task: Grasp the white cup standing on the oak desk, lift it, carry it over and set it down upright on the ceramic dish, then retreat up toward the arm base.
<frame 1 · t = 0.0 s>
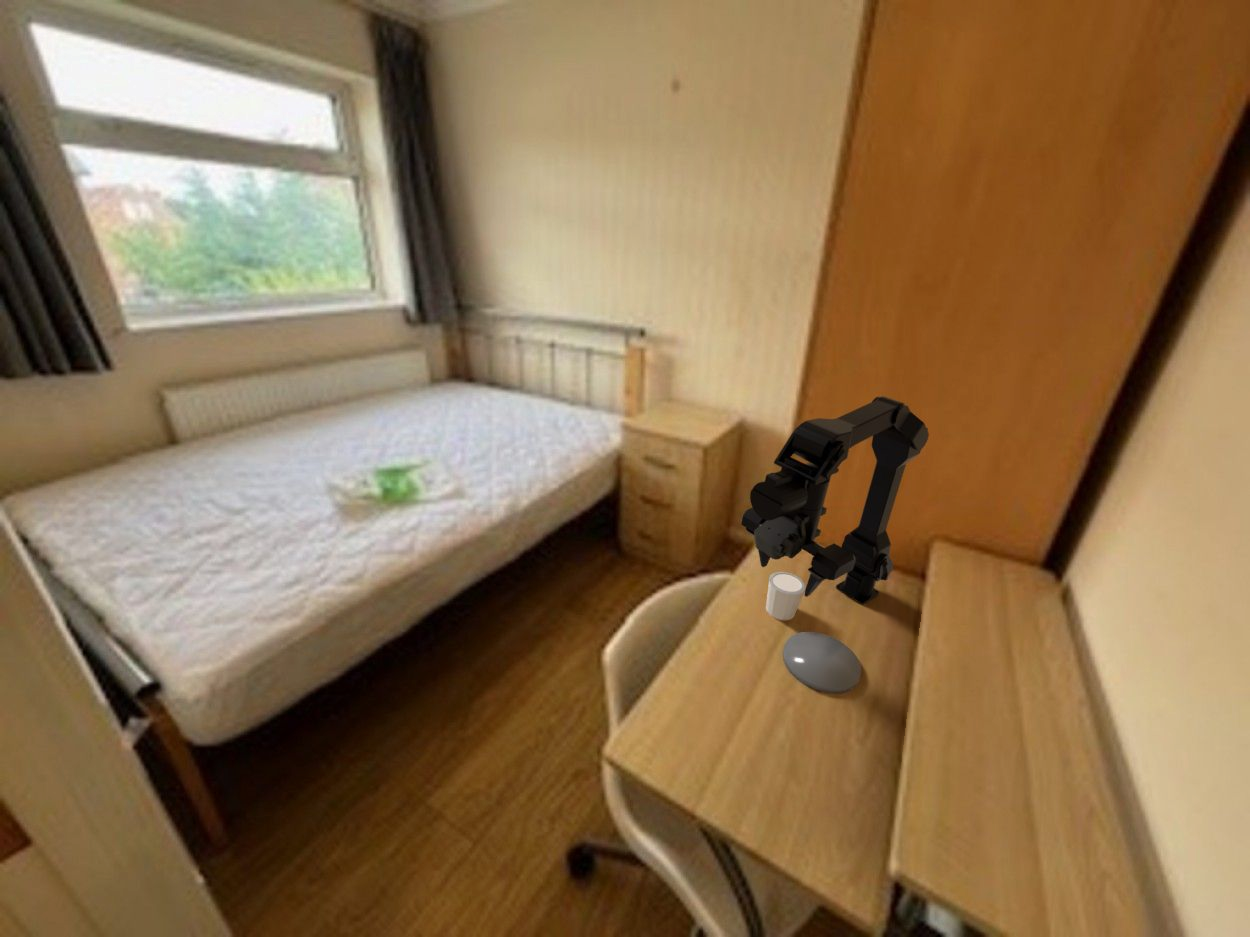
hand: (784, 580, 93), 15 cm above the table, fingers open, 9 cm apart
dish: (820, 663, 96), on the table
white cup: (779, 611, 108), on the table
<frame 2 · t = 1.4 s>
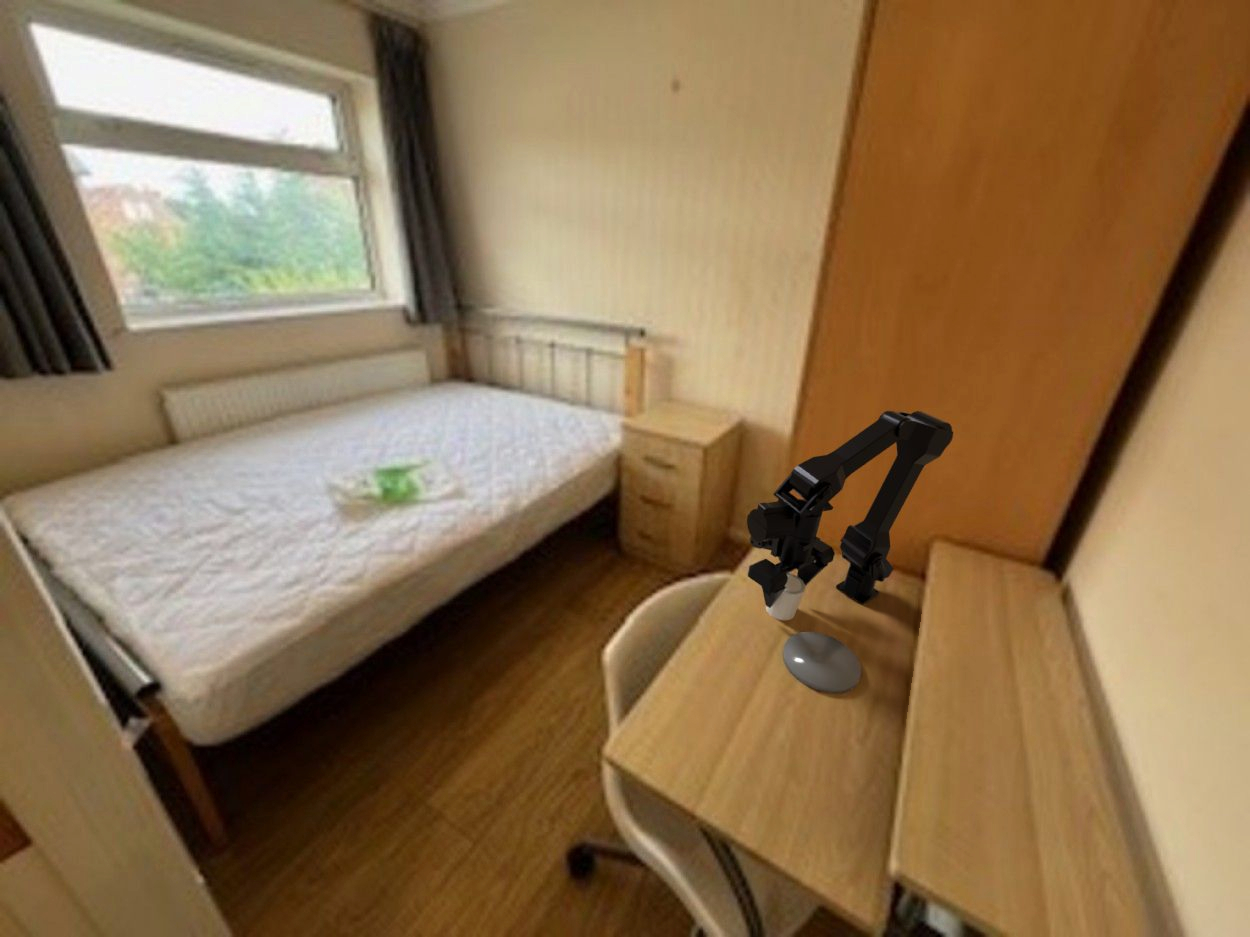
hand: (783, 597, 107), 3 cm above the table, fingers open, 9 cm apart
nothing on the table moved.
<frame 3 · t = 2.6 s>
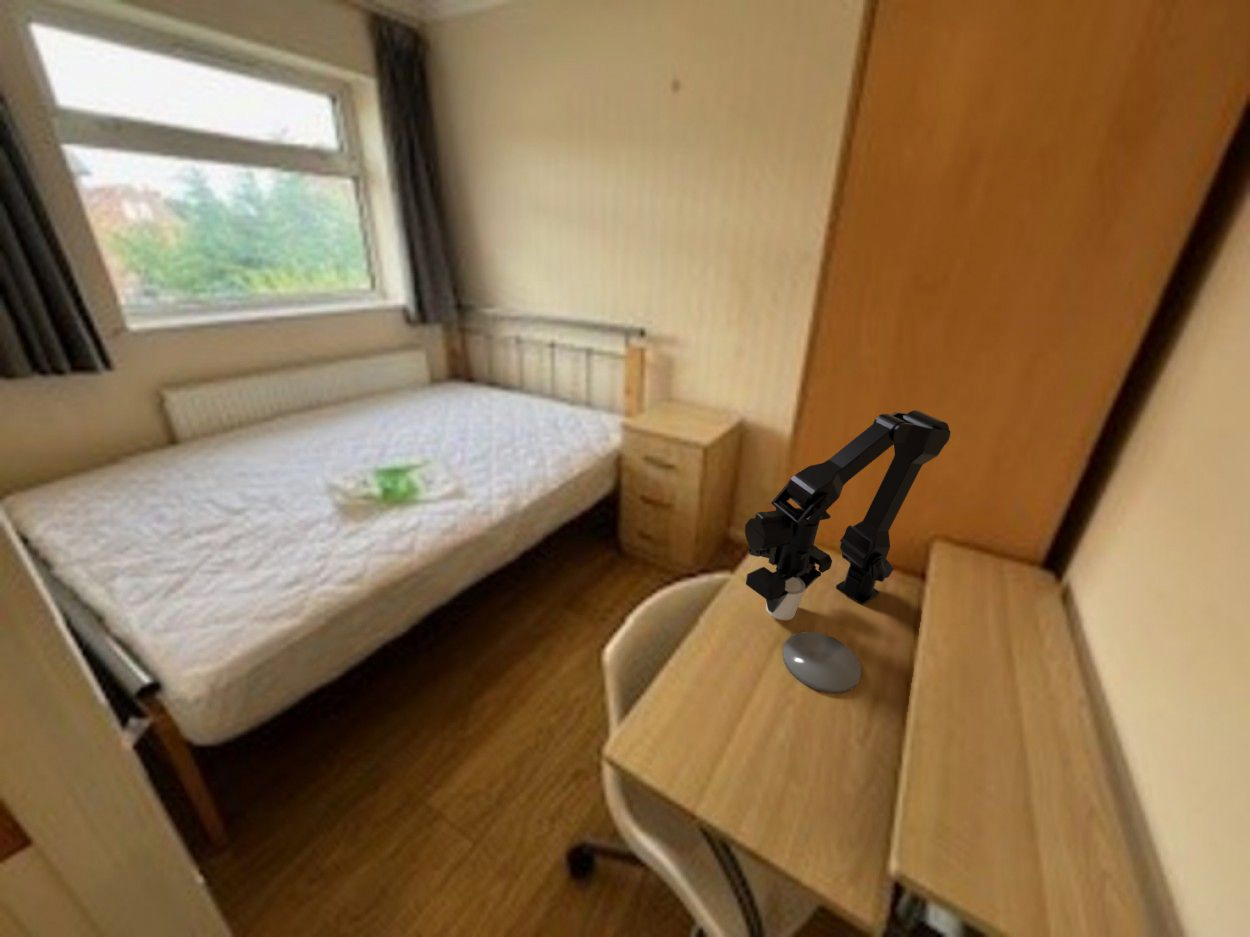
hand: (781, 605, 108), 1 cm above the table, fingers closed on white cup, 6 cm apart
white cup: (779, 611, 108), on the table, touching gripper
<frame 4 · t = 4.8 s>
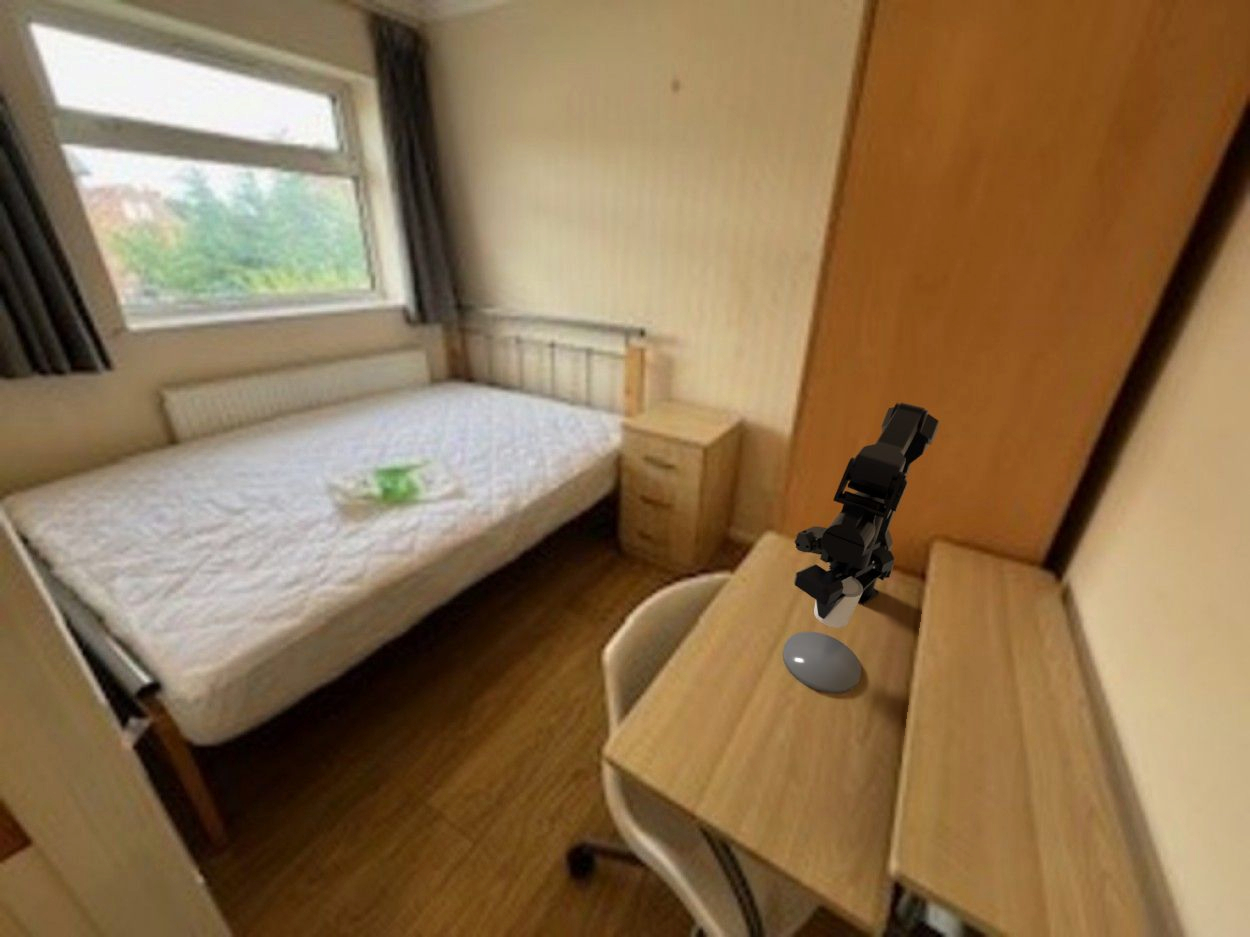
hand: (833, 610, 92), 12 cm above the table, fingers closed on white cup, 6 cm apart
white cup: (830, 617, 92), point 10 cm above the table, touching gripper
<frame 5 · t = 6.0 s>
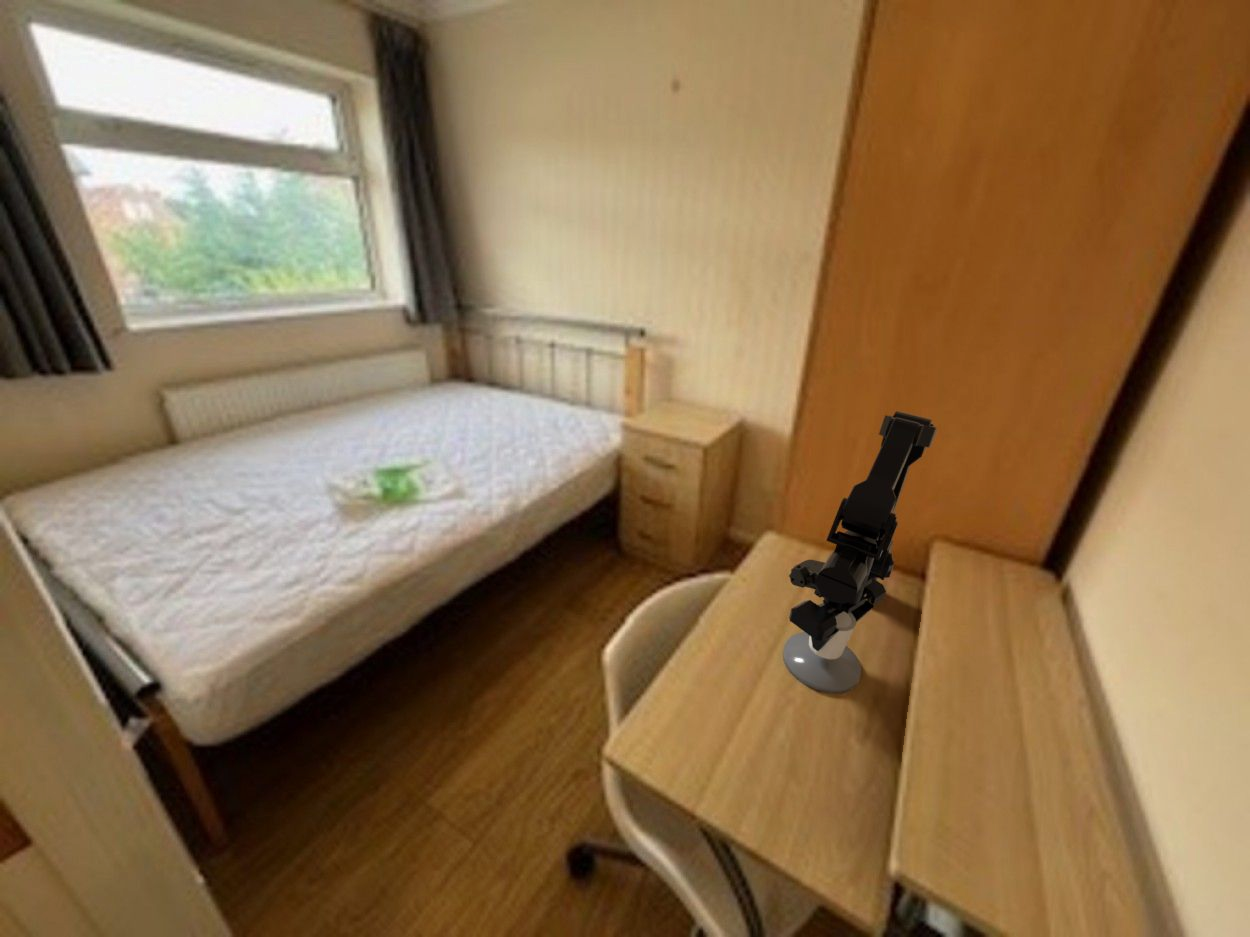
hand: (827, 641, 94), 5 cm above the table, fingers closed on white cup, 6 cm apart
white cup: (825, 647, 95), point 4 cm above the table, touching gripper
when the fingers open (4 cm above the table, at t = 7.1 s): white cup drops 1 cm, resting on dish.
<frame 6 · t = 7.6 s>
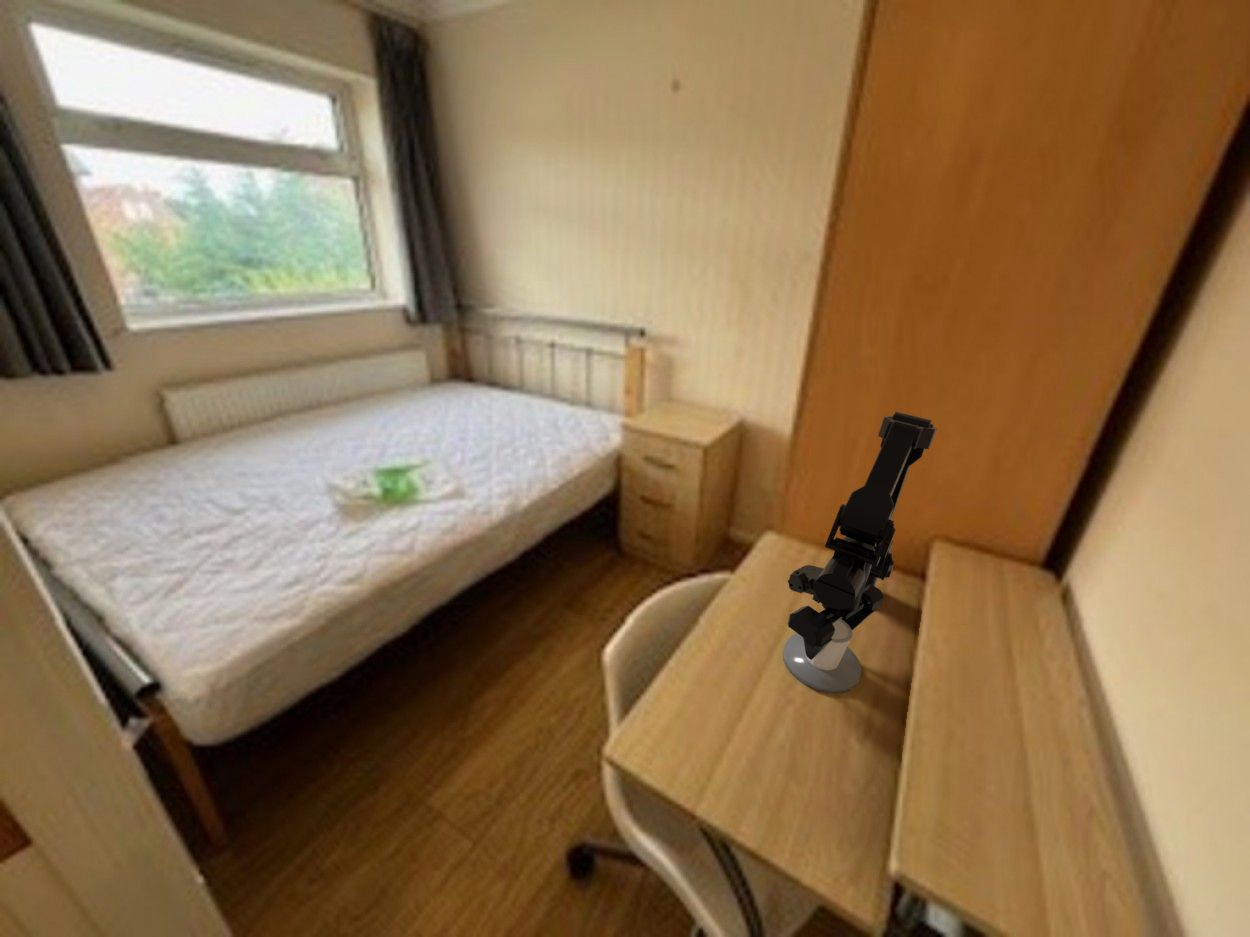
hand: (825, 646, 95), 4 cm above the table, fingers open, 9 cm apart
white cup: (821, 658, 96), point 1 cm above the table, touching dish
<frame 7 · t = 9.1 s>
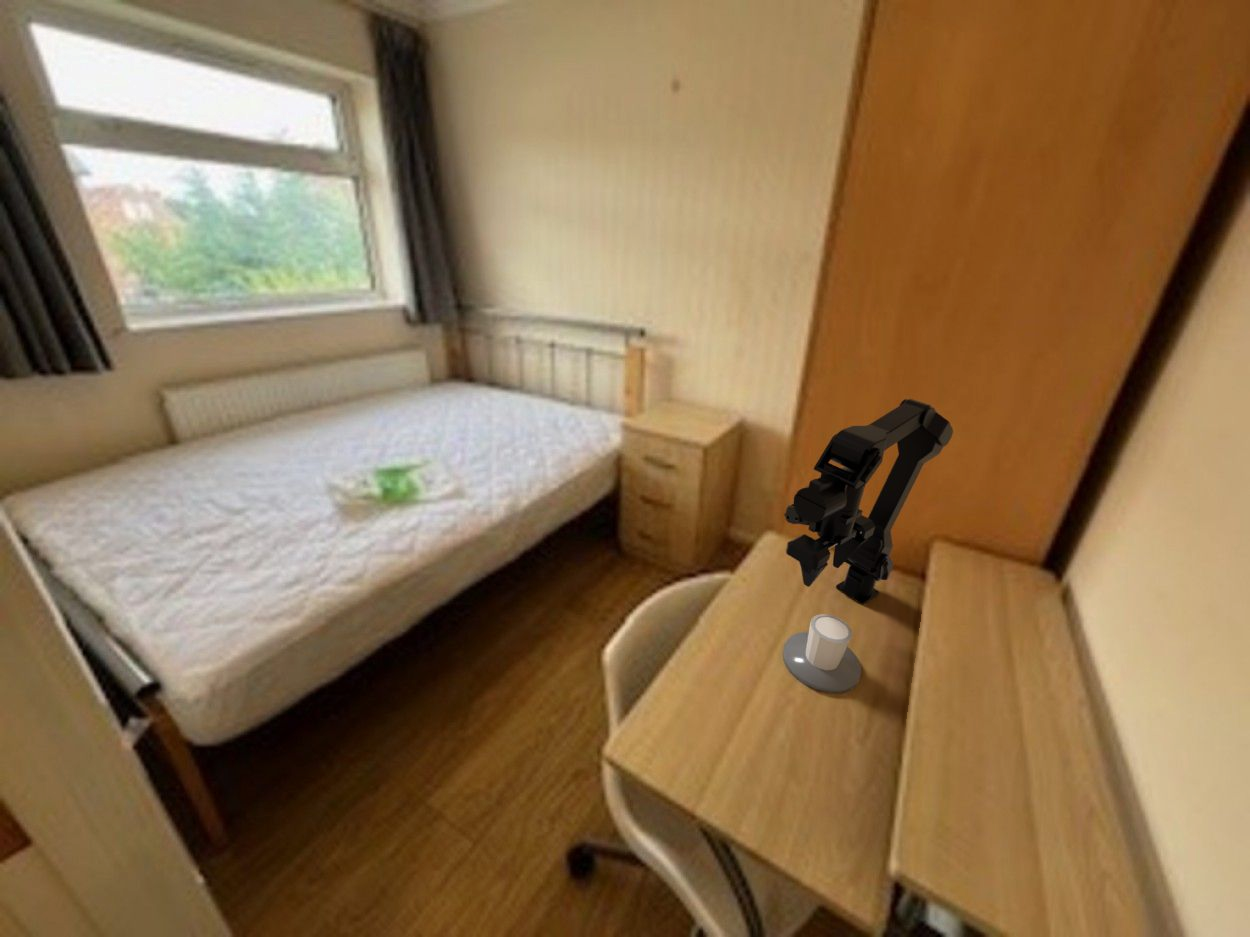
hand: (821, 575, 100), 11 cm above the table, fingers open, 9 cm apart
nothing on the table moved.
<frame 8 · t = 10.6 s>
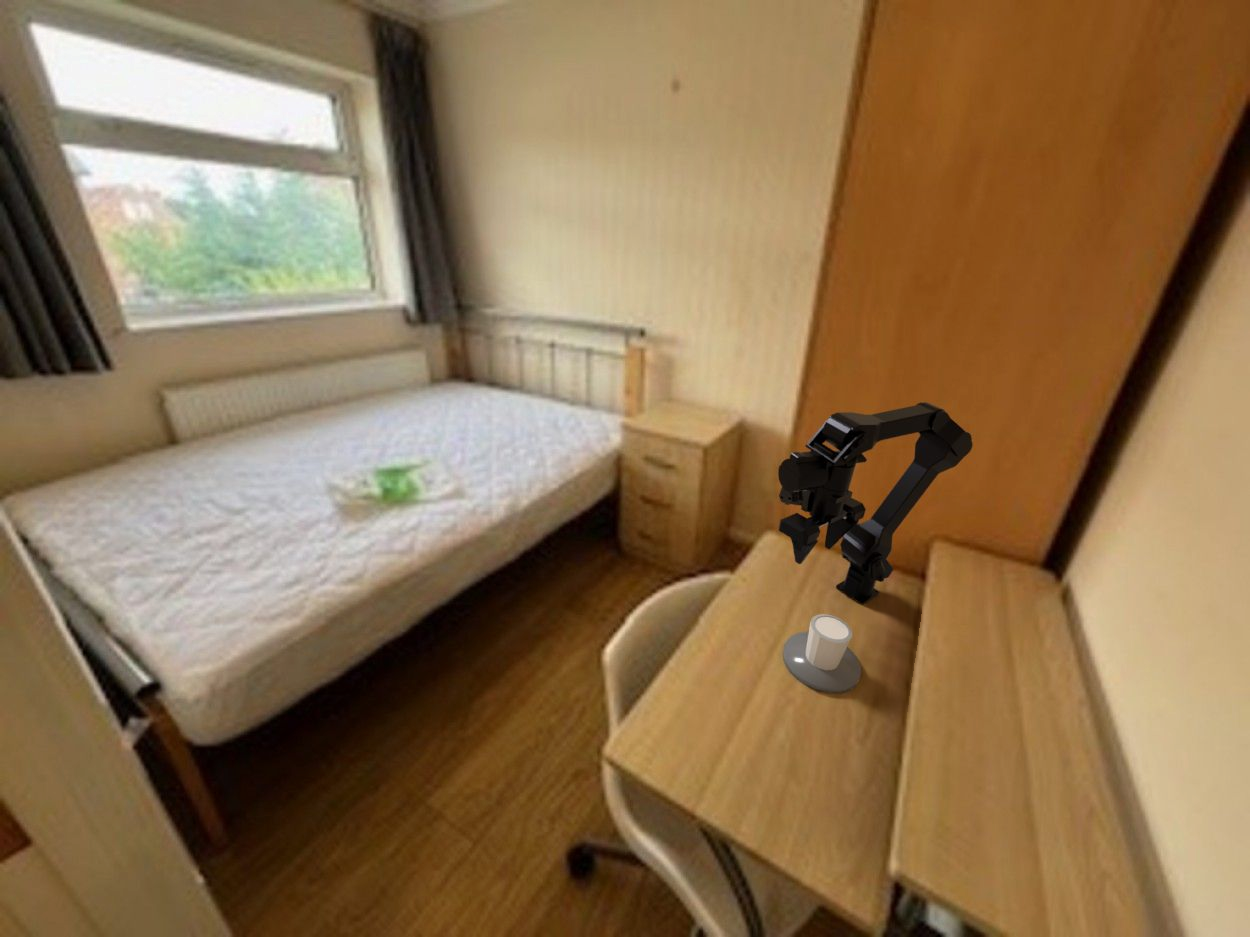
hand: (813, 555, 105), 12 cm above the table, fingers open, 9 cm apart
nothing on the table moved.
at the end: white cup inside the target area on the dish (0.1 cm from its centre), point 1.0 cm above the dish's base; white cup tilted 0°; the gripper is holding nothing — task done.
